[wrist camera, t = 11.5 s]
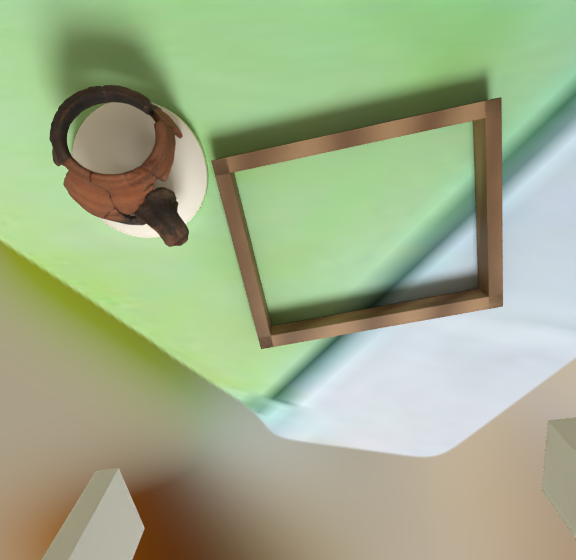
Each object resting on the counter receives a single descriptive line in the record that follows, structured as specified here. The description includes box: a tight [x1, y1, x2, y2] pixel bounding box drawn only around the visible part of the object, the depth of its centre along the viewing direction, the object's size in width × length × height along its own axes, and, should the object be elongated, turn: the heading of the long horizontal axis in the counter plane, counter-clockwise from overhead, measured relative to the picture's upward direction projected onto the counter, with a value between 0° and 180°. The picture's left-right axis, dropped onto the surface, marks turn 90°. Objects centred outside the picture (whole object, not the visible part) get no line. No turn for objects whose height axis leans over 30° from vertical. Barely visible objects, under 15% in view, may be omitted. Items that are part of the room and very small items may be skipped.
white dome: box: [72, 102, 208, 237], centre depth 31 cm, size 11×11×1 cm
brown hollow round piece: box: [50, 85, 189, 247], centre depth 29 cm, size 12×10×8 cm
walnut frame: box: [212, 97, 503, 349], centre depth 33 cm, size 22×17×2 cm
